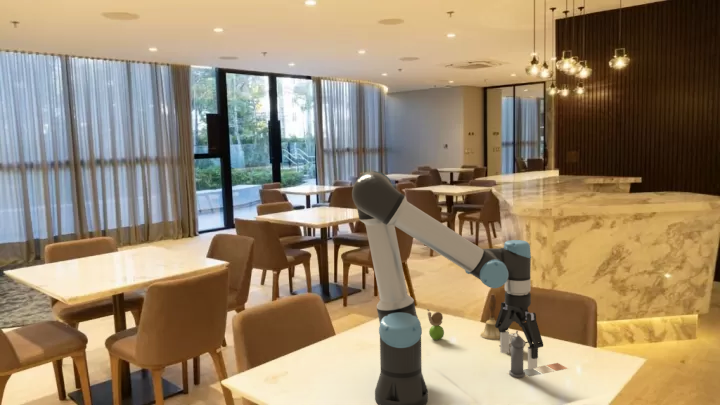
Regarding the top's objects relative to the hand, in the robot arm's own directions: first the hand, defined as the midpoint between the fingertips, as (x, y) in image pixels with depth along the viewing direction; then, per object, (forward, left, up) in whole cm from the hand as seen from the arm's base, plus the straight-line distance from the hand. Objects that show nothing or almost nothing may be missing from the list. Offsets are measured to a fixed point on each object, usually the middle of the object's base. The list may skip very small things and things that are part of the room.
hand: (518, 359), depth 165 cm
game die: (+10, +15, -6) cm, 19 cm away
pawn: (0, 0, -5) cm, 5 cm away
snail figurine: (-7, +39, -6) cm, 40 cm away
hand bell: (+14, +34, -6) cm, 37 cm away
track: (+7, 0, -6) cm, 9 cm away
